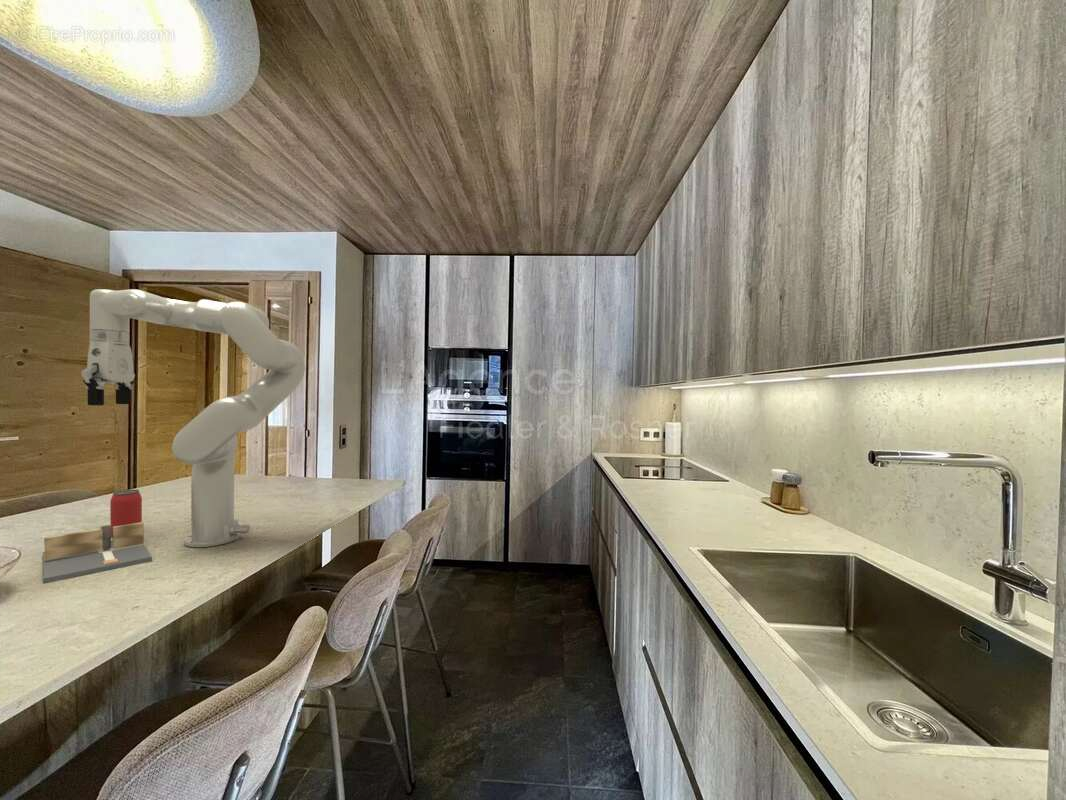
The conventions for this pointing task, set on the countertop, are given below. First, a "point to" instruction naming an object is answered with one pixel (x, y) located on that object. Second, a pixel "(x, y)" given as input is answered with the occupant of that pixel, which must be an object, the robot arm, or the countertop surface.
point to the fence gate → (77, 543)
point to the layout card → (93, 562)
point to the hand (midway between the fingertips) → (110, 404)
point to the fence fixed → (128, 535)
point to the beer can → (125, 508)
